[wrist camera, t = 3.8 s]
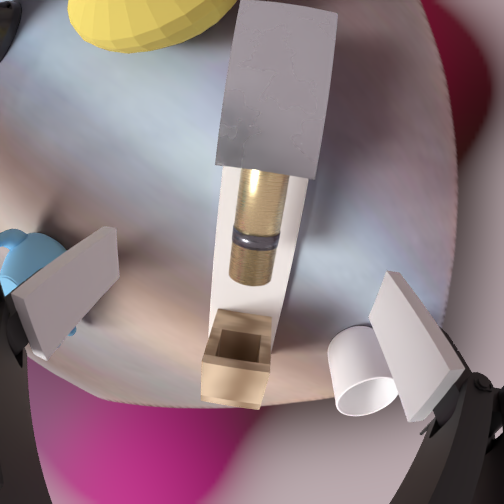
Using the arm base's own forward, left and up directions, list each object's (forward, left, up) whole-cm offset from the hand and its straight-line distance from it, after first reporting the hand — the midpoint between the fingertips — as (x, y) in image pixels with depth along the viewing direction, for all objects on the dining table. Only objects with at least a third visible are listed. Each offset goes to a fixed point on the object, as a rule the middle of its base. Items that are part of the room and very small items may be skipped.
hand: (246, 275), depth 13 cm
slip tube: (0, +4, -14) cm, 14 cm away
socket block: (0, -18, -19) cm, 26 cm away
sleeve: (0, +10, -19) cm, 21 cm away
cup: (+18, -18, -19) cm, 32 cm away
